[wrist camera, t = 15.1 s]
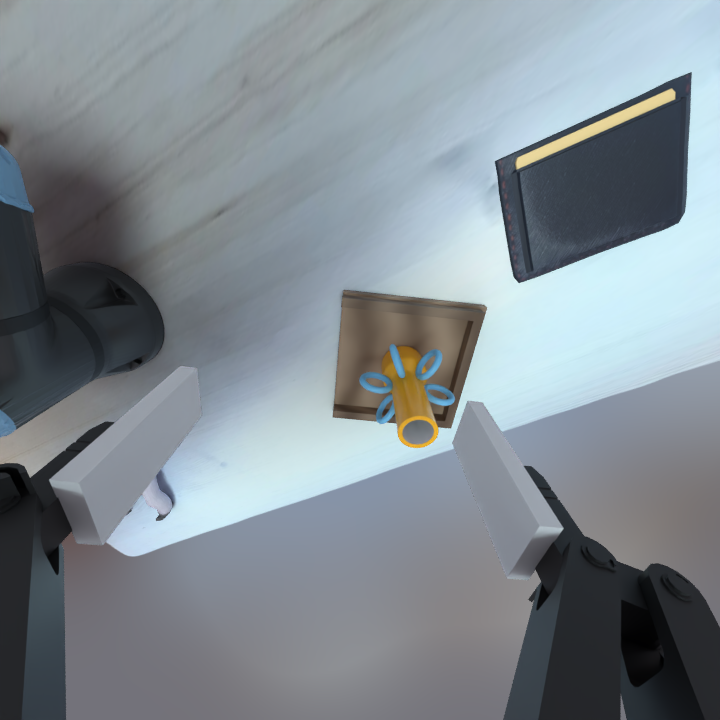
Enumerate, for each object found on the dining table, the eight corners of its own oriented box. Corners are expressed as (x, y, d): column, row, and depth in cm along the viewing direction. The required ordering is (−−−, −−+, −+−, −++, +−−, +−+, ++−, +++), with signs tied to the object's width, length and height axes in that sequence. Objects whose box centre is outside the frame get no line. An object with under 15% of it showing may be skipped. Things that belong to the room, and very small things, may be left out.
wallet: (517, 287, 38) (497, 152, 32) (511, 283, 40) (491, 156, 34) (693, 226, 35) (709, 64, 29) (678, 226, 37) (690, 72, 30)
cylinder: (352, 339, 42) (345, 400, 28) (424, 313, 40) (454, 364, 27) (381, 407, 47) (388, 486, 33) (447, 386, 45) (482, 461, 31)
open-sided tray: (334, 407, 48) (332, 418, 46) (343, 289, 40) (342, 295, 37) (450, 418, 49) (455, 430, 46) (483, 305, 41) (492, 311, 38)
